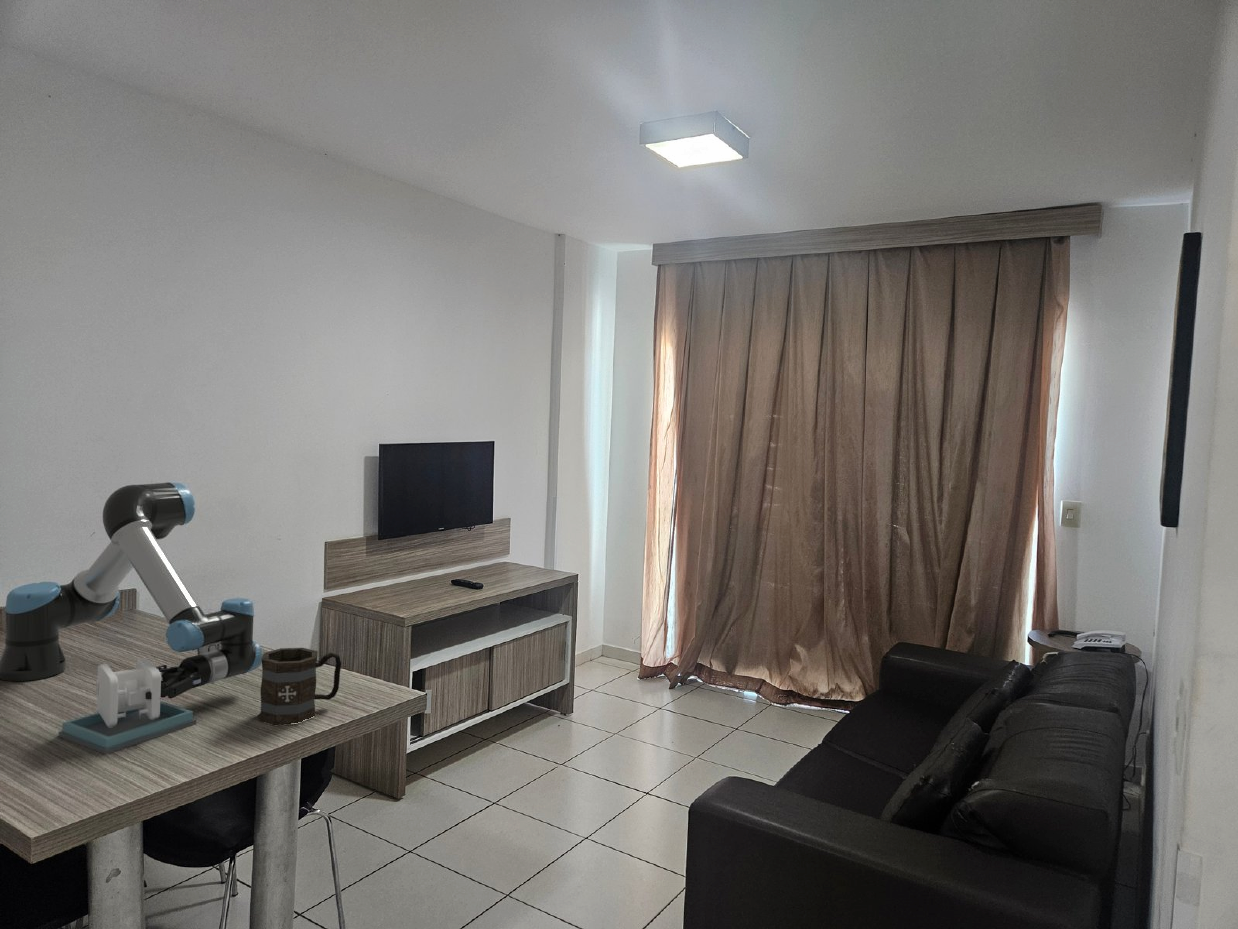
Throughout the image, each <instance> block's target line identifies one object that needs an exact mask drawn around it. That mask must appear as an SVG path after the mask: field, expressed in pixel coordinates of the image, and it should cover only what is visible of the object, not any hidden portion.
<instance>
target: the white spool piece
mask: <svg viewBox="0 0 1238 929" xmlns="http://www.w3.org/2000/svg"><path fill="white" fill-rule="evenodd" d="M156 667H157V666H155V665H154V664H153V662H152V661H151V660H149V658H147V657H143V658H138V659H137V662H136V668H133V669H126V670H118V671H113V669H111V667H110V666H109V665H108V664H107V663H103V664H98V666H97V682H96V683H98V682H99V695H96V709H97V711H98V712H99V714H100V715H101V717H102V719H103V720H104V722H105V723H106V725H107V726H108V727H109V728H113V726H116V725H117V718H120V717H125V716H126V711H131V710H136V709H139V715H140V714H142V713H145V714H146V715H147V717H148V718H149V719H150V720H154V719H155V718H158V717H159V715H160V701H161V697H160V694H161V681H162V677H161V674H162V673H161V672H159V670H158V669H157V668H156ZM145 688H149V692H151V693H152V699H149V701H146V702H142V703H139V704H135V705H132V706H129V705H128V701H129V693H131V692H135V691H138V690H142V689H145ZM140 709H142V710H140ZM98 712H97V713H98ZM119 712H124V713H121V714H118V713H119Z"/></svg>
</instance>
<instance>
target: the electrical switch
mask: <svg viewBox="0 0 1238 929" xmlns="http://www.w3.org/2000/svg"><path fill="white" fill-rule="evenodd" d="M219 649H221V642H218V643H214V644H210V645H207V646H204V647H200V648H198V649H196V650H197V655H200V654H203V653H207V652H210V651H214V650H219Z"/></svg>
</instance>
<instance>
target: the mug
mask: <svg viewBox="0 0 1238 929" xmlns="http://www.w3.org/2000/svg"><path fill="white" fill-rule="evenodd" d="M318 652H319V651H318V650H314V649H310V648H306V647H284V648H283V647H280V648H276V649H274V650H273V649H272V650H271V651H266V652H262V653H263V656H262V663H261V668H262V672H261V683H260V684H261V685H260V711H259V712H260V713H259V720H258V721H259V722H261V723H264V722H266V723H265V724H267V723H269V724H268V725H270V724H272V725H271V726H274V725H278V726H285V725H284V724H291V723H298V722H302V721H303V720H305V719H309V718H311V717H313V716H315V717H316V705H315V704H316V703H315V702H316V701H315V700H327V701H329V700H331V699H333V698H335V697H336V695H337V693H338V692H339V689H340V679H341V678H340V677H341V676H340V675H341V669H342V660H341V657H340V655H339V654H337V653H333V652H328V653H327V654H324V656H322V658H320V660H318ZM331 658H334V659H335V667H334V673H333V686H332V688H331V692H330V693H328V694H320V693H319V694H316V689H317V670H316V669H317V668H321V667H322V666H324V665H325V664H326V663H327V661H328V660H330V659H331ZM317 660H318V661H317ZM302 723H303V722H302Z"/></svg>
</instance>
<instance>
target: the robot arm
mask: <svg viewBox="0 0 1238 929" xmlns="http://www.w3.org/2000/svg"><path fill="white" fill-rule="evenodd" d="M192 493H193V492H191V490H190V489H189V488H188V487H187V486H186V485H185V484H183V483H180V482H169V481H168V482H161V483H159V482H156V483H145V484H129V485H125V486H122V487H119V488H118V489H116V490H115V491H114V492H112V493H111V494H110V495H109V496H108V498H107V500H106V501H105V502H104V506H103V509H102V523H103V528H104V530H105V533H106V535H107V536H108V538H109V540H110V543H108V545H107V546H106V547H105V549H104V550H103V551H102V553H101V554H100V555H99V556H98V557H97V558H96V560H95V561H94V562H93V564H92V565H91V566H90V567H89V569H84V570H82V571H79V572H78V573H77V574H76V575H75V576H74V578H73V579H72V580H71V581H70V582H69V583H68V584H61V585H60V584H59V583H58V582H55V581H42V582H33V583H28V584H24V585H20V586H17V587H15V588H13V589H11V591H9V593H8V594H7V595H6V600H5V606H4V611H5V636H4V638H5V641H4V642H5V646H4V649H3V650H2V654H1V657H0V680H1V681H7V682H24V681H26V682H27V681H36V680H42V679H48V678H50V676H51V677H54V676H53V675H55V674H57V675H60V674H62V673H63V672H62V671H64V672H65V671H66V670H65V669H67V660H66V657H65V655H64V652H63V649H62V646H61V644H60V629H63V628H64V629H65V628H68V627H69V628H70V627H73V626H77V625H82V624H83V625H84V624H86V623H95V622H99V621H102V620H104V619H107V618H109V617H110V616H112V615H113V614H114V613H115V612H116V610H117V608H118V607H119V604H120V601H119V600H120V599H121V598H120V597H121V592H120V587H119V586H120V584H121V583H122V582H123V580H124V579H125V578H126V577H127V575H128V574H130V572H131V571H132V570H133V569H134V570H135V572H136V574H137V575H138V576H139V578H140V580H141V582H142V583H143V585H144V586H145V587H146V589H147V591H148V592H149V595H150V596H151V597H152V599H153V601H154V602H155V604H156V605H157V607H158V608H159V610H160V611H161V613H162V615H163V616H164V618H165V619H166V621H167V623H168V627H167V628H166V631H165V638H166V639H167V640H166V644H167V646H169V648H170V649H171V650H172V651H174V652H177V653H184V652H185V653H186V652H189V651H196V650H197V649H198V648H200V647H204V646H207V645H210V644H214V643H218V642H221V649H219V650H214V651H210V652H207V653H203V654H200V655H198V654H197V655H191V656H188V657H186V658H183V659H182V661H181V662H180V664H179V665H178V666H170V667H168V666H167V665H166V664H162V665H158V666H155V667H156V668H157V669H158V670H159V672H161V673H162V674H161V694H160V699H161V698H163V699H164V698H166V697H167V698H168V699H173V698H177V696H180V695H182V694H184V693H186V692H188V691H190V690H192V689H195V688H199V687H203V686H205V685H208V684H211V685H213V684H215V682H218V681H222V680H225V679H229V678H232V677H236V676H239V675H244V674H247V673H249V672H252V671H254V670H256V669H259V667H260V666H262V656H263V653H264V652H262V647H261V645H260V644H259V643H257V641H256V642H255V641H254V640H253V638H254V636H253V634H254V631H253V630H254V617H255V614H254V603H253V601H252V600H251V599H248V598H244V597H238V598H237V597H236V598H235V597H234V598H228V599H226V600H223V601H222V602H221V606H220V610H218V611H215V612H211V613H207V614H206V613H205V612H204V611H203V610H202V608H201V607H200V605H198V602H197V601H196V599H195V598H194V596H193V595H192V593H191V591H190V590H189V589H188V586H187V584H185V582H184V581H183V579H182V577H181V576H180V574H179V572H178V571H177V569H176V568H175V565H173V563H172V561H171V560H170V558H169V557H168V556H167V553H166V552H165V551H164V549H163V547H162V546H161V544H160V543H159V541H160V540H163V539H165V538H166V537H167V536H168V535H169V534H170V533H171V532H172V531H173V530H174V528H175V527H177V526H184V525H186V524H188V523H189V524H190V522H191V521H192V520H193V518H194V517H195V516H194V515H195V512H196V506H195V499H194V496H193V494H192ZM61 672H62V673H61ZM55 676H56V675H55ZM95 687H96V688H95V695H96V696H97V695H99V682H98V683H97V682H96V686H95ZM149 699H152V693H151V692H149V688H145V689H142V690H138V691H135V692H131V693H129V701H128V705H129V706H132V705H135V704H139V703H142V702H146V701H149Z"/></svg>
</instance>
